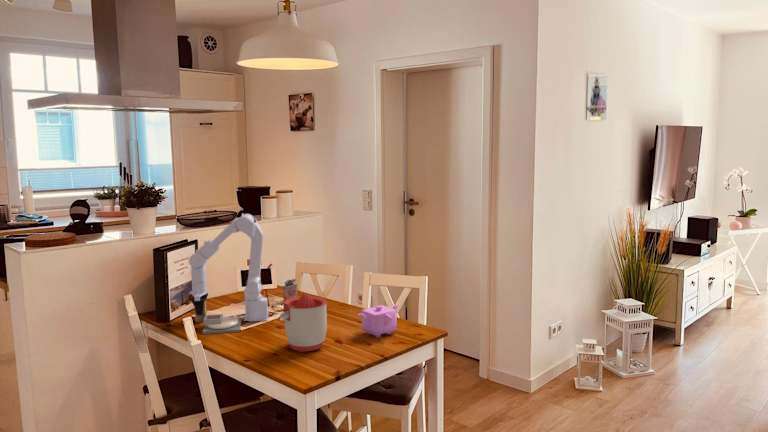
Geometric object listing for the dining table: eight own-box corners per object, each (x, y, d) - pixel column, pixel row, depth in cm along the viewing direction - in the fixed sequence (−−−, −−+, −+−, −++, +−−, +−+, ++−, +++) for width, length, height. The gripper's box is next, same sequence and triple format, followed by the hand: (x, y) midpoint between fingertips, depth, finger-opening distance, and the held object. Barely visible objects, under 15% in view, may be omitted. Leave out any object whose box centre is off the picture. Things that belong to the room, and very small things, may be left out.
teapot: (366, 326, 241) (366, 299, 240) (399, 327, 239) (399, 301, 237) (357, 339, 227) (357, 311, 225) (392, 341, 224) (392, 312, 222)
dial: (239, 318, 249) (238, 311, 248) (236, 328, 237) (236, 320, 237) (207, 320, 247) (206, 313, 246) (202, 330, 235) (202, 322, 235)
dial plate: (241, 320, 250) (241, 318, 250) (239, 331, 236) (239, 329, 236) (207, 322, 248) (207, 320, 248) (202, 334, 234) (202, 331, 234)
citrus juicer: (274, 345, 221) (272, 292, 218) (318, 336, 229) (316, 285, 227) (289, 358, 208) (287, 302, 205) (335, 349, 216) (333, 295, 213)
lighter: (286, 303, 275) (286, 282, 274) (281, 302, 277) (280, 281, 276) (299, 299, 282) (298, 278, 280) (294, 298, 284) (293, 277, 282)
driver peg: (206, 318, 254) (205, 300, 253) (205, 321, 250) (204, 303, 249) (196, 319, 253) (195, 300, 252) (195, 322, 249) (194, 303, 248)
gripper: (191, 277, 256) (193, 308, 258) (185, 286, 241) (187, 318, 243) (208, 276, 257) (210, 307, 259) (204, 285, 242) (205, 317, 244)
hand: (200, 313), depth 251 cm, fingers open, 5 cm apart
